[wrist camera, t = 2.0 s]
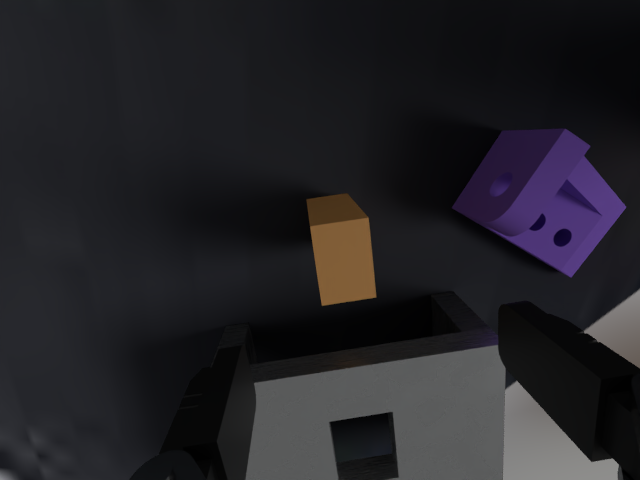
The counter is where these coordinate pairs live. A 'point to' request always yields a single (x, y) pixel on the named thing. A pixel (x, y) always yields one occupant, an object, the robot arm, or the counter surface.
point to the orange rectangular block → (341, 249)
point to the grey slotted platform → (384, 404)
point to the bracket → (542, 196)
